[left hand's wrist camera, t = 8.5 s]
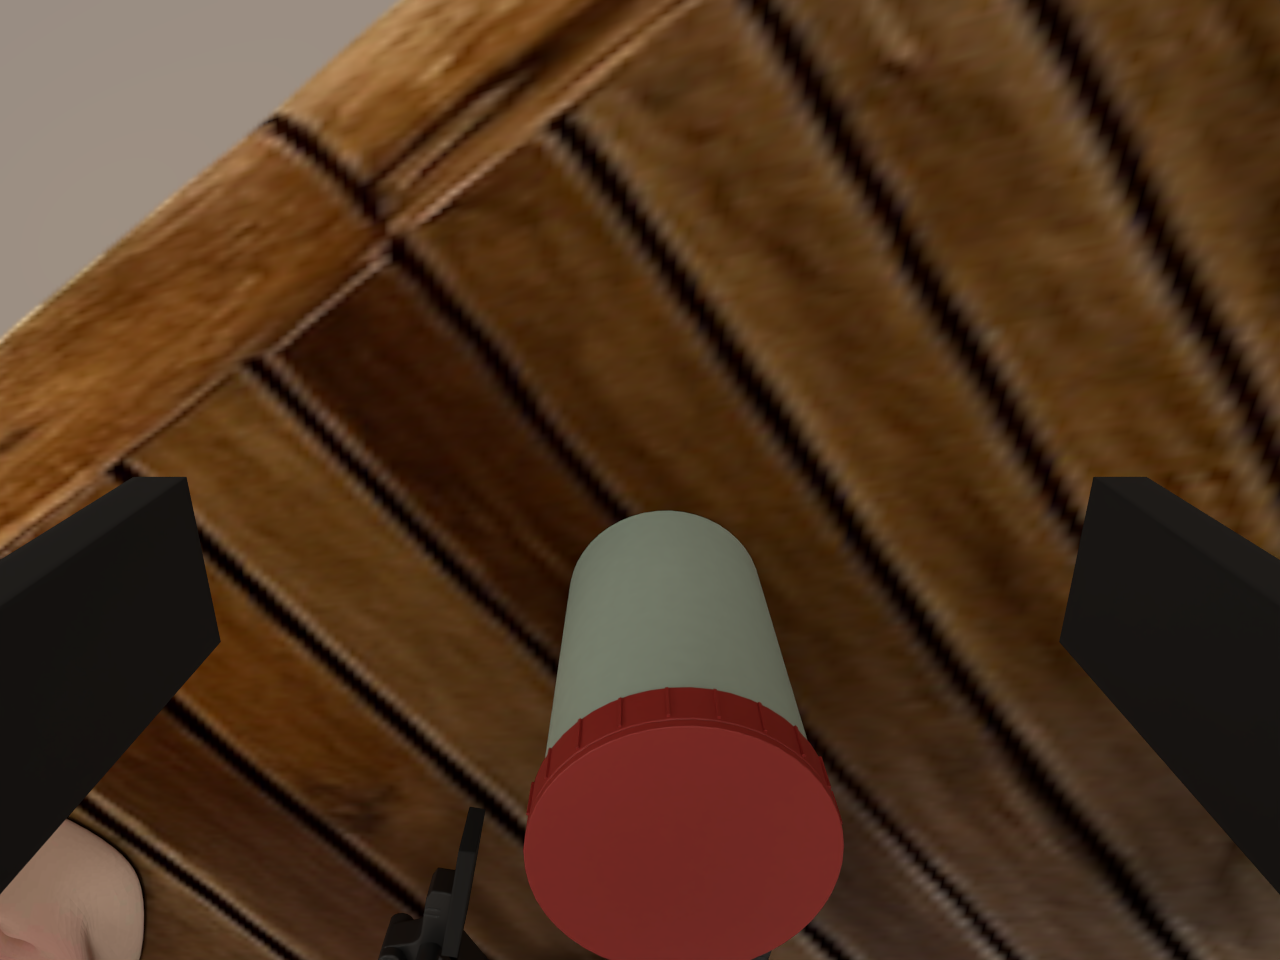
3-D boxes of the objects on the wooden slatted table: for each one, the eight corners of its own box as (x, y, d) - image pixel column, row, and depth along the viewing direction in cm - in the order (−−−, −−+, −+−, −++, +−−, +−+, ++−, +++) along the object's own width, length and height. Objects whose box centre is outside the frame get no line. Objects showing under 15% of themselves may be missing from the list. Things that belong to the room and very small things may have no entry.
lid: (755, 634, 25) (765, 672, 23) (877, 860, 28) (894, 908, 27) (472, 760, 27) (460, 804, 25) (618, 959, 30) (617, 1011, 28)
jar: (709, 477, 39) (757, 676, 24) (790, 632, 42) (876, 893, 27) (534, 561, 40) (477, 797, 25) (624, 704, 43) (620, 990, 28)
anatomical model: (-105, 836, 41) (133, 903, 42) (-44, 779, 44) (173, 843, 46) (-129, 1012, 45) (88, 1067, 47) (-71, 947, 49) (128, 1000, 51)
